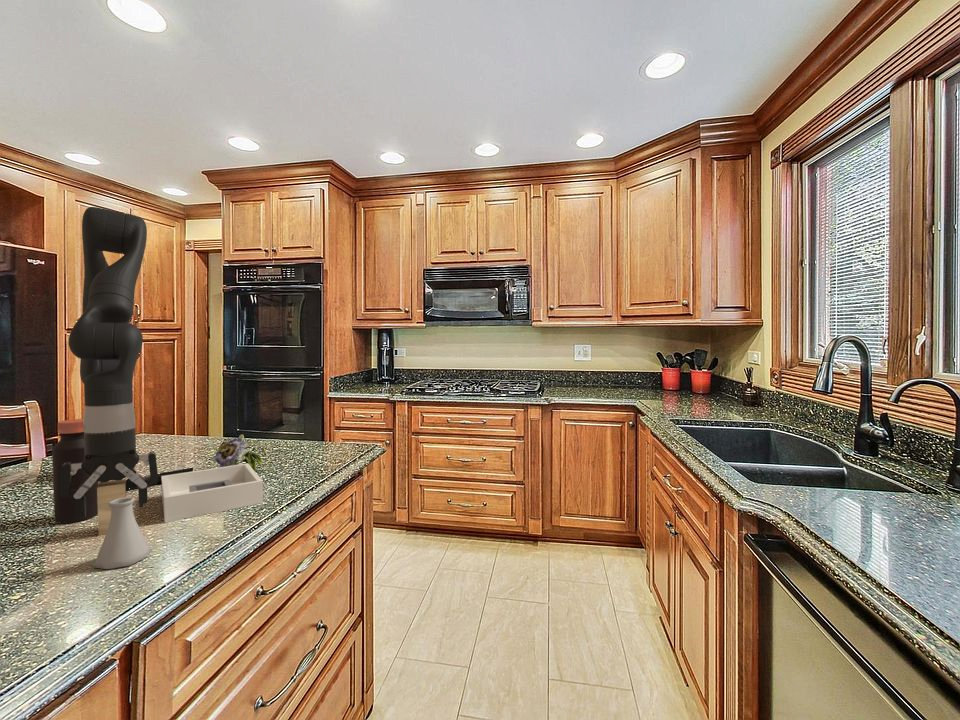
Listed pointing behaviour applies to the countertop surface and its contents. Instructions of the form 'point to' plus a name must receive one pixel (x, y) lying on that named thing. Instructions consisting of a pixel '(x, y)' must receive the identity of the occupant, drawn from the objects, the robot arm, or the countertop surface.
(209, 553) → the countertop surface
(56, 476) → the bottle
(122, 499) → the flask
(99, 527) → the plug
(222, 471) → the box
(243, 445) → the passion flower
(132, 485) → the electric trimmer
